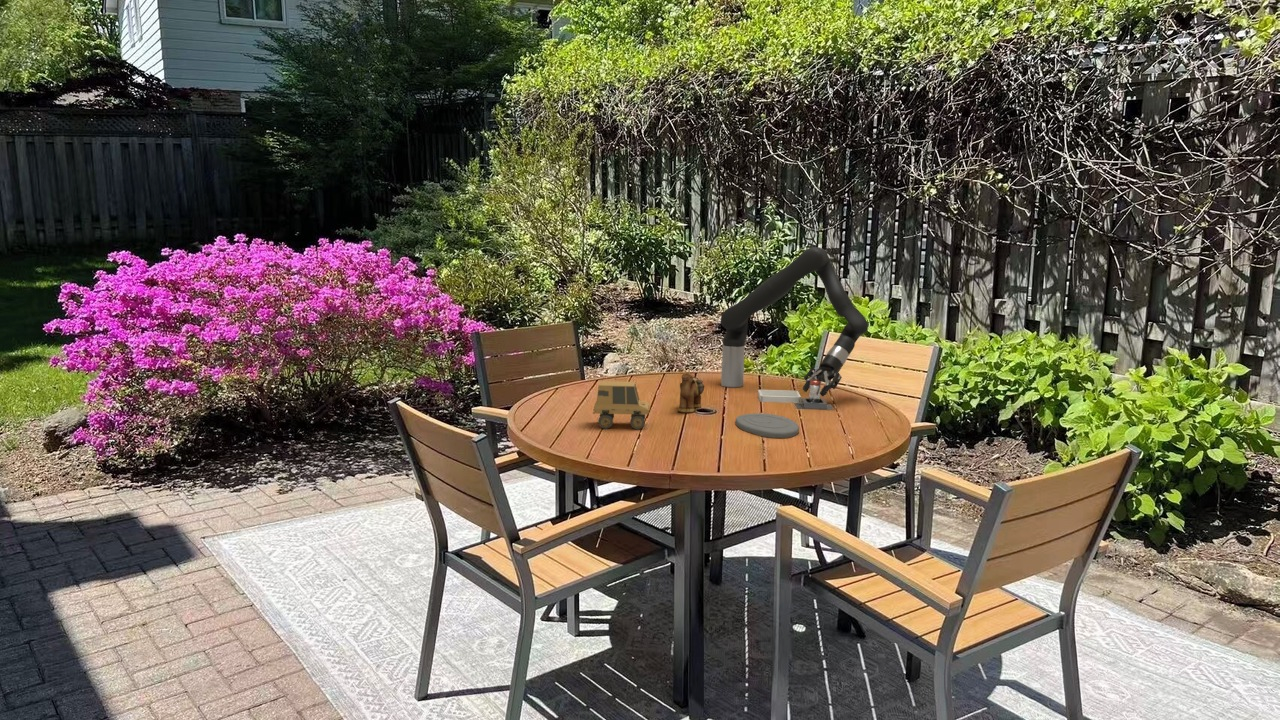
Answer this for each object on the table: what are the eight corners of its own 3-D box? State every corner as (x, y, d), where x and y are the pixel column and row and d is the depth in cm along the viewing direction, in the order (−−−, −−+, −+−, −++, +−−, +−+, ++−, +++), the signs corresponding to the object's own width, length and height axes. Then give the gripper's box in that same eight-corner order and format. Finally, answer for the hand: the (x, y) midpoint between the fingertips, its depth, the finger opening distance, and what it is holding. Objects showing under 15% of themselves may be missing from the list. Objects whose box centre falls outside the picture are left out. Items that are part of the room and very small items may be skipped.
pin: (809, 407, 332) (810, 381, 331) (807, 405, 336) (809, 379, 334) (820, 407, 332) (821, 382, 330) (818, 405, 336) (820, 379, 334)
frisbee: (763, 441, 290) (763, 434, 289) (723, 421, 314) (724, 414, 314) (814, 436, 298) (815, 428, 297) (772, 417, 322) (772, 410, 322)
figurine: (671, 413, 323) (672, 373, 321) (684, 404, 337) (685, 366, 335) (696, 416, 320) (697, 375, 317) (707, 406, 334) (709, 368, 331)
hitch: (796, 410, 330) (797, 403, 330) (793, 405, 339) (794, 397, 339) (834, 411, 330) (834, 404, 329) (830, 406, 339) (830, 398, 338)
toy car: (648, 430, 300) (649, 387, 297) (592, 429, 301) (593, 386, 298) (648, 422, 310) (649, 381, 307) (594, 421, 311) (595, 379, 308)
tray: (760, 403, 340) (760, 396, 340) (757, 396, 352) (758, 389, 351) (800, 404, 340) (801, 397, 339) (797, 398, 351) (797, 390, 351)
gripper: (816, 351, 341) (794, 383, 336) (845, 356, 330) (822, 390, 325) (824, 363, 345) (803, 395, 340) (853, 369, 334) (831, 402, 329)
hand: (812, 392), depth 333 cm, fingers open, 8 cm apart
